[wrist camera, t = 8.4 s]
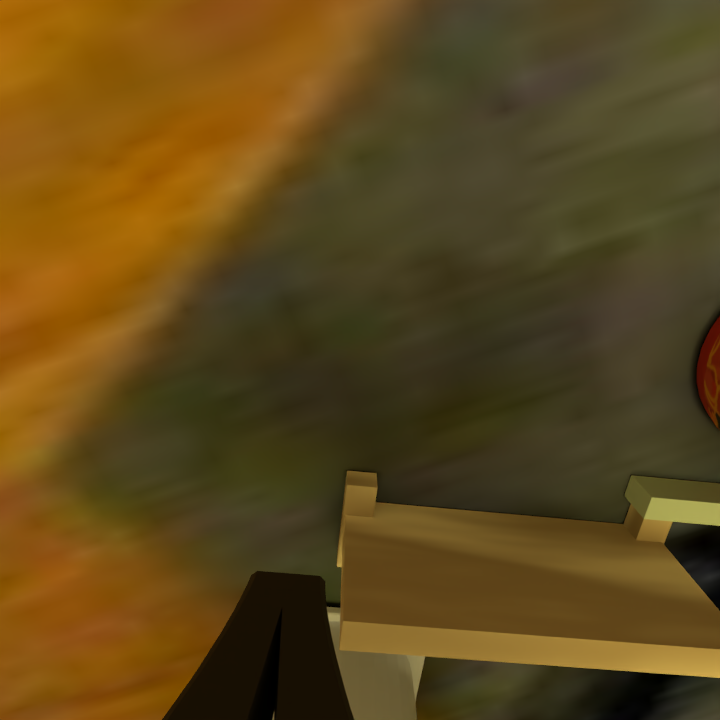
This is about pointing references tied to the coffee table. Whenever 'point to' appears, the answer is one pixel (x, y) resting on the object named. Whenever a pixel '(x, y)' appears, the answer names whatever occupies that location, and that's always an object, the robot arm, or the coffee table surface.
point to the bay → (675, 500)
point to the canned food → (710, 373)
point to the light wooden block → (518, 589)
